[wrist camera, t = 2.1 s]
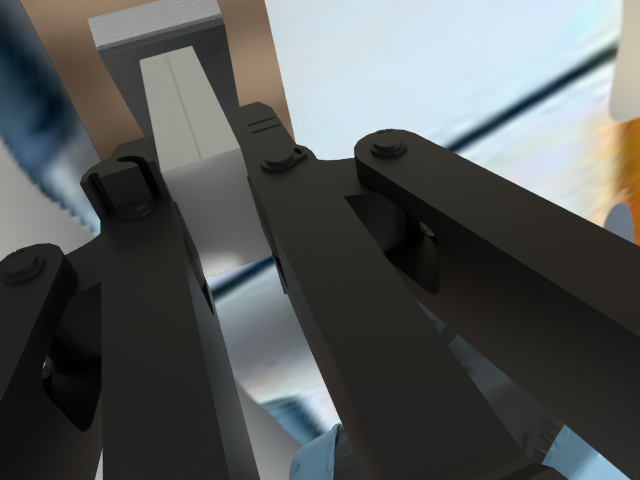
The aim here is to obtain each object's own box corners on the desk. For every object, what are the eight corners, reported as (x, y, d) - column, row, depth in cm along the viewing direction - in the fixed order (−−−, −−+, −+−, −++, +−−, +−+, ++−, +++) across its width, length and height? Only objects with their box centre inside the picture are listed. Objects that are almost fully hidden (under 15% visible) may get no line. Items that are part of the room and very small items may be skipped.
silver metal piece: (249, 183, 35) (257, 205, 35) (187, 203, 35) (195, 225, 34) (209, -18, 18) (223, 19, 18) (85, 14, 18) (98, 54, 17)
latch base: (291, 160, 39) (314, 196, 35) (136, 210, 37) (140, 255, 33) (202, -230, 25) (221, -249, 21) (-57, -181, 23) (-92, -189, 19)
